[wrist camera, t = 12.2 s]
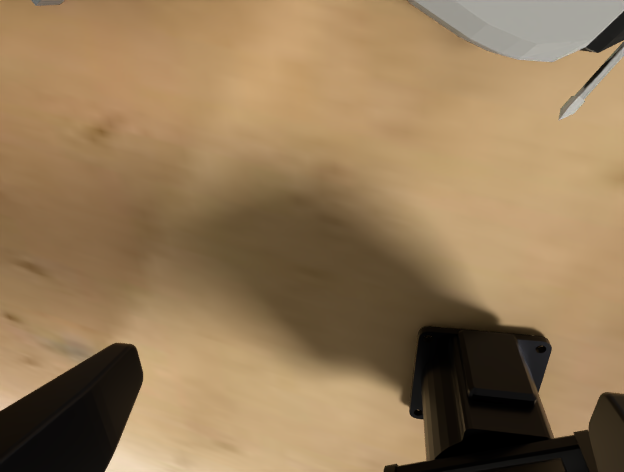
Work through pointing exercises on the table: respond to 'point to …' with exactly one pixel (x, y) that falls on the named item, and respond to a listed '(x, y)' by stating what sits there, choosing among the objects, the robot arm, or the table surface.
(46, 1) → the tower base
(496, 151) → the table surface
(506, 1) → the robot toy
